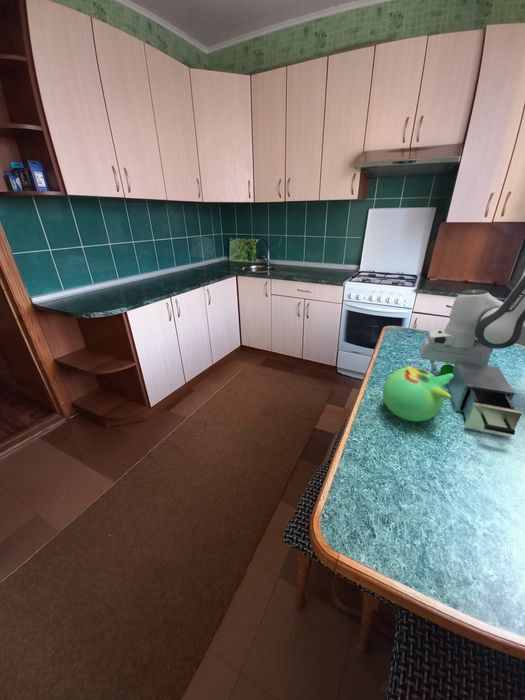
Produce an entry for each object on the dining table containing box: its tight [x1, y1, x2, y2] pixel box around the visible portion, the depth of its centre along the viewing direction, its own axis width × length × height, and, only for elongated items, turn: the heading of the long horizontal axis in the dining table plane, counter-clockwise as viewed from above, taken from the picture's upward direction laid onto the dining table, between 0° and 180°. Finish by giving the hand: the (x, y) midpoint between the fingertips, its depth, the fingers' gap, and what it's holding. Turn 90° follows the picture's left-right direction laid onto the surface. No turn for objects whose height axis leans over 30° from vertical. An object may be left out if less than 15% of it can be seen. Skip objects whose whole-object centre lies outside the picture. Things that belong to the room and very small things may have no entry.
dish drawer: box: [461, 388, 523, 437], centre depth 80 cm, size 19×10×8 cm, turn 159°
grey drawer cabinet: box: [447, 361, 515, 413], centre depth 89 cm, size 15×12×10 cm
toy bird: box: [382, 365, 454, 422], centre depth 84 cm, size 18×17×15 cm
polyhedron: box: [439, 363, 455, 376], centre depth 103 cm, size 5×5×5 cm
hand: (447, 372), depth 103 cm, fingers open, 8 cm apart
